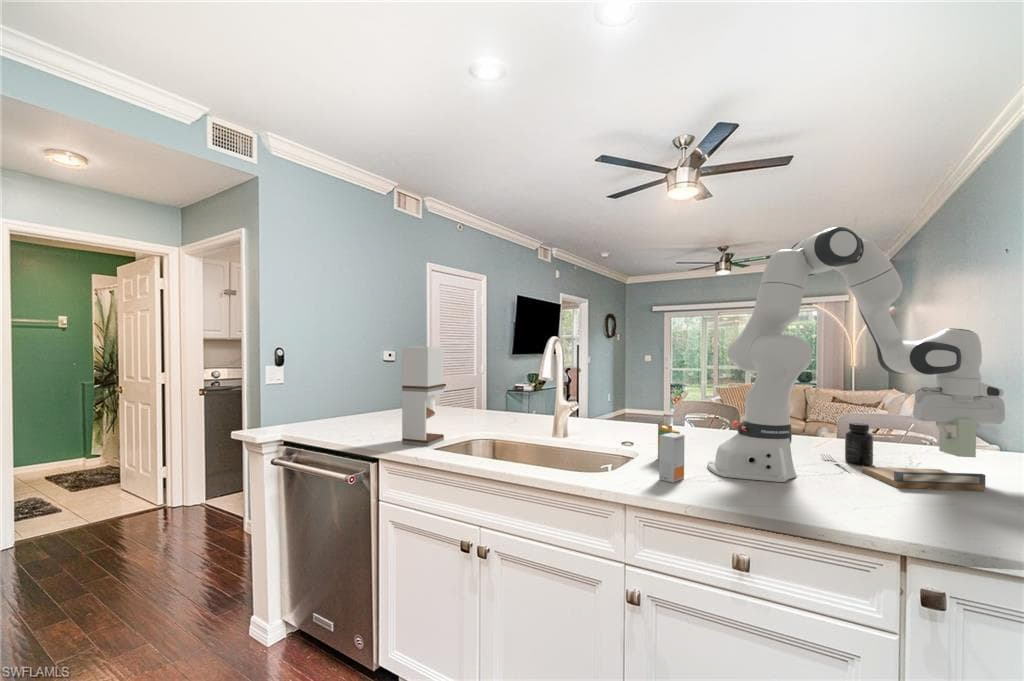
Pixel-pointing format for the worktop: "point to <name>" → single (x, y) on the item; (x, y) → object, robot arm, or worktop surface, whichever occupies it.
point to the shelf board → (927, 478)
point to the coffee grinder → (420, 392)
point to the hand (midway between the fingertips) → (957, 438)
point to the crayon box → (664, 432)
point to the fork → (838, 464)
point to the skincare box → (671, 457)
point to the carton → (960, 438)
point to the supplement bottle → (859, 445)
